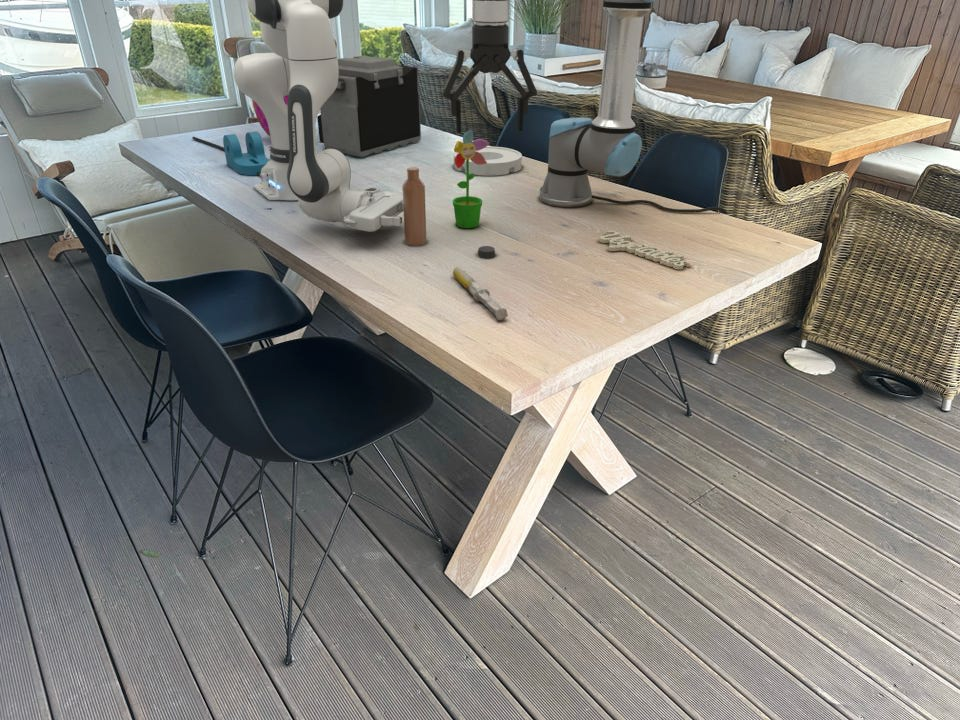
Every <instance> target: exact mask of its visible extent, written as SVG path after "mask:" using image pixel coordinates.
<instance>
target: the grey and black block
mask: <svg viewBox="0 0 960 720" xmlns="http://www.w3.org/2000/svg"><path fill="white" fill-rule="evenodd" d="M337 59H338V68H339V77H338V85H337V88H336V90H335V91H334V93H333V94H332V95H331V96H330V97H329V98H328V99H327V101H326V102H325V103H324V104H323V106H322V107H321V109H320V111H319V112H320V114H319V115H317V118H316V121H317V128H318V138H319V143H320V144H323V146H324V150H326V149H329V148H333V149H336V150H339V151H340V152H342V153H343V154H344V155H348V156H353V157H357V158H362V159H363V158H366V157H367V158H368V157H369V155H371V154H375V155H377V154H381V153H382V152H383V151H391V150H395V149H396V148H397V147H405V146H407V145H408V144H416V143H418V142H419V141H421V137H422V128H421V97H420V92H419V91H420V89H419V68H418V67H417V66H408V65H400V64H396V62H395V60H394V59H393V58H385V57H377V56H367V55H356V56H353V57H350V58H349V57H343V58H342V57H341V58H337Z"/></svg>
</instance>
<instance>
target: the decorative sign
mask: <svg viewBox="0 0 960 720" xmlns="http://www.w3.org/2000/svg"><path fill="white" fill-rule="evenodd" d="M599 243H602V244H608V245H609V246H608V252H619V251H623V252H625V251H626V252H627V253H630V254H634V255H635V256H638V257H640V258H645V259H646V260H651V261H653V262H659V264H661V265H665V266H666V267H671V268H672V269H674V270H683V269H684V267H686V268H689V267H690V261H689V260H685V259H684V258H685V257H684V254H675V253H674V251H672V250H664V251H659V250H658V247H655V246H654V245H648V244H646V243H643V244H638V243H636V242H632V236H631V235H622V236H620V232H618V231H614V230H606V234H605V235H601V236H600V237H599Z"/></svg>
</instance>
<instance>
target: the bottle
mask: <svg viewBox="0 0 960 720" xmlns="http://www.w3.org/2000/svg"><path fill="white" fill-rule="evenodd" d="M406 169H407V170H406V173H407V174H406V175H407V178H406V179H405V181H404V182H403V183H402V186H401V187H402V189H401V190H402V194H403V228H404V231H403V232H404V243H405V245H407V246H412V247H418V246H424V245H426V244H427V215H426V214H427V213H426V210H427V209H426V186H425V185H426V184H425V183H424V182H423V181H422V179H421V178H420V168H419V167H417V166H410V167H409V166H408V167H407V168H406Z"/></svg>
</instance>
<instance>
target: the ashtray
mask: <svg viewBox="0 0 960 720" xmlns="http://www.w3.org/2000/svg"><path fill="white" fill-rule="evenodd" d="M477 152H479V153H480V154H482V156H483V157H484V158H485V160H486V162H487V163H486V164H482V165H478V164H475V163H474V162H472V161H471V159H469V174H475V176H483V177H485V176H487V177H489V176H490V177H491V176H492V177H493V176H503V175H504V176H505V175H509V174H510V173H517V172H519V171H520V170H521V169H522V165H523V164H522V163H523V162H522V161H523V154H522V153H521V152H520V151H518V150H515V149H513V148H509V147H502V146H490V145H488V146H486V147H485V148H483V149H481V150H478V151H477ZM457 154H459V153H457V152H455V151H454V152H453V169H455V170H456V171H458V172H464V173H465V174H466V159H465V162H464V164H463V165H462V166H461V167H460V168H457V166H456V164H455V157H456V156H457Z"/></svg>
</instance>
